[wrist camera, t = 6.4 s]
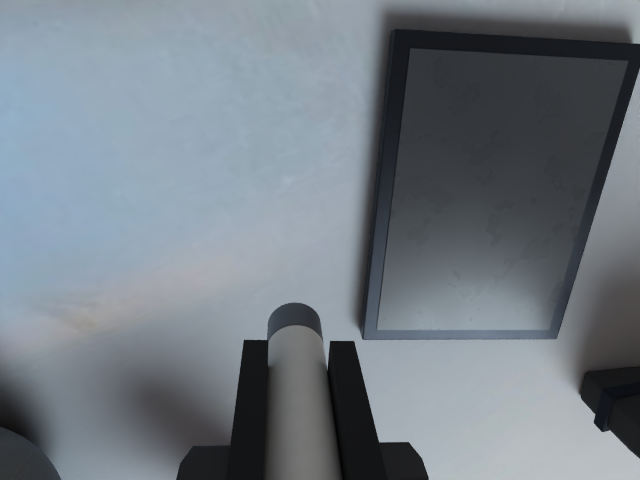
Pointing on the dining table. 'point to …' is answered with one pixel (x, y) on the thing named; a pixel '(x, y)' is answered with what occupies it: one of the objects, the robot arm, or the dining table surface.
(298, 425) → the stylus
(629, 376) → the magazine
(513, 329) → the tablet
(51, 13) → the dining table surface
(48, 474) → the bowl
